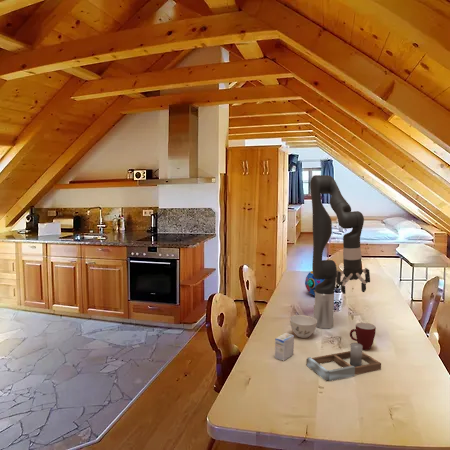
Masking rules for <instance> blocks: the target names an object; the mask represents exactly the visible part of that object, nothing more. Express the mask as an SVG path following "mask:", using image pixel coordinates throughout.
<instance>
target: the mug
mask: <svg viewBox="0 0 450 450" xmlns="http://www.w3.org/2000/svg"><path fill="white" fill-rule="evenodd" d="M353 333H355V336H356V338H355V337H353ZM375 336H376V325H374V324H371V323H368V322H357V323H356V324H355V328H354V329H351V330H350V331H349V337H350V339H352V340H353V341H355V342H356V343H359V344H361V345H362V346H363V348H362V351H368V350H370V349H371V348H372V346H373V344H374V342H375Z"/></svg>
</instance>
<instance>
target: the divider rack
mask: <svg viewBox="0 0 450 450" xmlns="http://www.w3.org/2000/svg"><path fill="white" fill-rule="evenodd" d="M347 359H350V350H348V351H342V352H338V353H333V354H332V353H331V354H326V355H321V356H316V357H311V356H309V357H307V358H306V360H305V363H306V367H308V368H309V369H310V368H311V369H312V370H311V369H310V370H311V371H313V372H314V373H315V372H316V373H317V376H319V377H320V376H321V377H322V378H321V377H320V378H321V379H322V380H324V381H325V380H326V382H328V381H327V380H329V382H333V381H337V379H338V380H341V379H342V380H343V379H347V378H353V377H355V376H356V375H361V374H366V373H369V372H375V371H380V370H381V369H382V362H380V361H378V360H377V359H375V358H374V357H372V356H370V355H368V354H367V353H365V352H363V351H362V361H364V362H365V363H367V364H362V366H357V367H354V366H352V365H350V362H347V361H346V360H347ZM331 361H332V362H334V363H335V362H336V363H335V364H337V365H338V366H340V368H334V369H333V368H332V369H330V370H329V369H327V368H325V367H324V366H323V365H321V364H320V363H322V364H325V363H324V362H327V363H330V362H331ZM332 362H331V363H332ZM342 367H343V368H342ZM332 380H333V381H332Z"/></svg>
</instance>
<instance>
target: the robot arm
mask: <svg viewBox="0 0 450 450" xmlns="http://www.w3.org/2000/svg"><path fill="white" fill-rule="evenodd" d="M309 184H310V196H311V198H310V199H311V206H312V207H311V209H312V243H313V244H312V245H313V246H312V249H313V250H312V270H311V271H313V275H314V277H315V278H316V279H325V280H324V281H323V282H322V283H320V284H318V285H316V287H315V296H314V305H313V316H312V318H315V319H316V320H317V325H316V328H320V329H333V327H334V314H335V313H334V311H335V309H334V307H335V305H334V304H335V289H336V286H337V285H338V286H340V292H341V293H342V294H344V295H346V284H347V283H348V282H349V281H357V280H360V282H361V283H360V284H361V292H362V293H365V292H366V291H367V283H370V282H371V276H370V274H371V273H370V269H369V268H368V267H365V268H362V267H363V266H362V265H363V263H362V256H363V255H362V249H361V235H362V231H363V227H364V222H365V218H364V217H365V216H364V215H363V213H362V212H361V211H358V210H356V211H352V207H351V205H350V203H348V201H347V200H346V199H345V197H344V196H343V195H342V193H341V190H340V188H339V186H338V183H337V182H336V180H335V178H334V177H333V176H331V175H329V174H328V175H326V174H322V175H321V174H319V175H318V174H317V175H315V174H314V175H312V176H311V179H310V183H309ZM321 195H330V200H329V206H330V207H331V209H332V210H333V212H334V213H335V215H336V218H337V222H338V226H339V227H340V228H342V229H343V230H345V229H346V230H347V229H352V230H350V232H348V233H345V234H343V236H342V242H343V251H342V257H343V259H342V262H343V270H338V269H337V264H336V261H334V260H333V259H323V253H324V250H325V247H326V246H327V243H328V242H329V241H330V238H331V237H332V234H333V227H332V226H333V225H332V218H331V216H330V214H329V213H328V212H327V210H326V208H325V206H324V205H323V203H322V198H321ZM363 273H364V277H365V278H363V277H362V274H363ZM342 276H343V277H342ZM341 277H342V278H341ZM341 279H342V280H341ZM336 284H337V285H336Z"/></svg>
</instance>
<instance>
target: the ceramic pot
mask: <svg viewBox="0 0 450 450" xmlns="http://www.w3.org/2000/svg"><path fill="white" fill-rule="evenodd" d="M324 280H325V279H316V278H315V277H314V275H313V270H311V271H309V272H308V273H307V275H306V276H305V280H304V285H305V288H306V290H307V292H308V293H309V294H310V295H312V296H314V297H315V287H316V285H318V284H320V283H322V282H323V281H324Z"/></svg>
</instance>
